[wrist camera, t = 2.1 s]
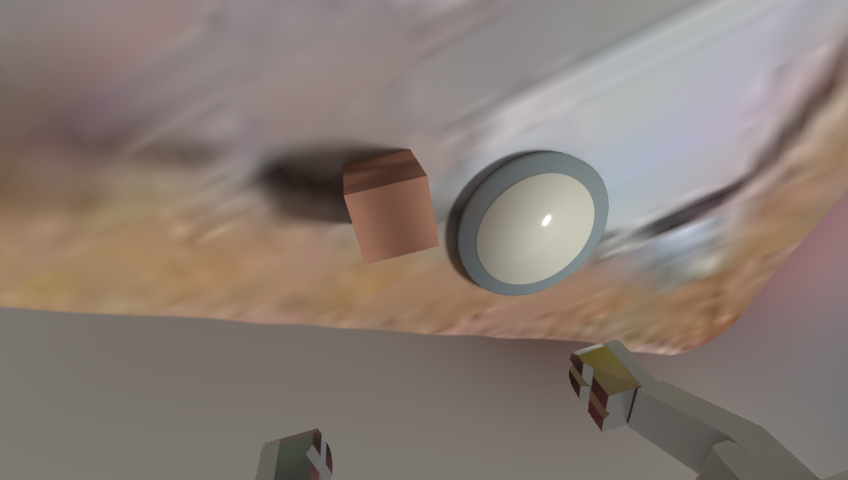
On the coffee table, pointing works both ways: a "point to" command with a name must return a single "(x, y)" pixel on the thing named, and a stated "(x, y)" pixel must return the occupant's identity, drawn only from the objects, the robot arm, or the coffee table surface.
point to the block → (389, 206)
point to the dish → (532, 223)
